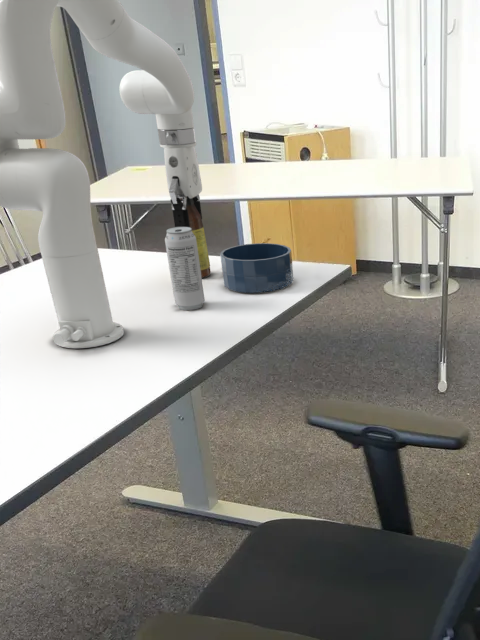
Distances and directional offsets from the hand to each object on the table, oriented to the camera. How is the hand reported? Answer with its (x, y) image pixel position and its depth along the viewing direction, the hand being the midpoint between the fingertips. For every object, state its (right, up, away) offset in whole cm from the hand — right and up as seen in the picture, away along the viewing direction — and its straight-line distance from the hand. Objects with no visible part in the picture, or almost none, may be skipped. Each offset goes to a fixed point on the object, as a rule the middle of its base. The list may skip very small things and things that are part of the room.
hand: (189, 224), depth 170 cm
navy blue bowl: (+16, -14, -1) cm, 21 cm away
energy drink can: (+3, -22, -13) cm, 26 cm away
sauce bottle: (0, -9, +7) cm, 12 cm away
